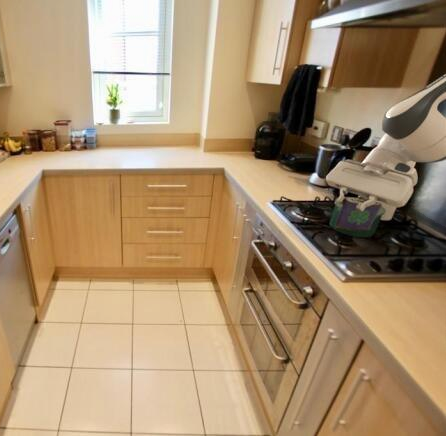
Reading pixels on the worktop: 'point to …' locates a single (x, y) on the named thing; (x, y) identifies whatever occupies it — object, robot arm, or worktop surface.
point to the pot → (354, 232)
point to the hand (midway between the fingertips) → (349, 206)
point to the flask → (357, 215)
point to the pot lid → (381, 211)
